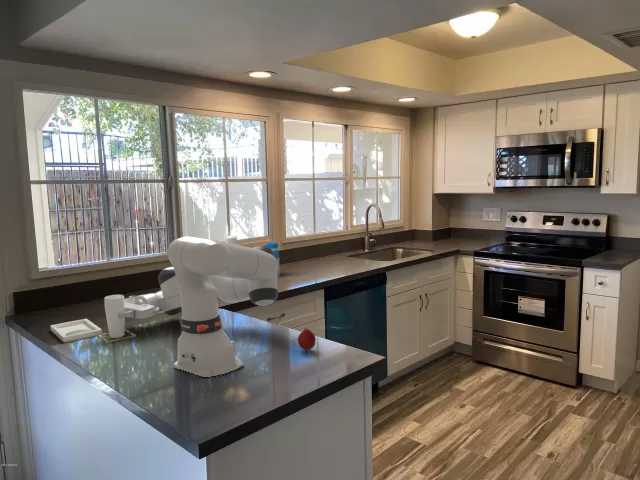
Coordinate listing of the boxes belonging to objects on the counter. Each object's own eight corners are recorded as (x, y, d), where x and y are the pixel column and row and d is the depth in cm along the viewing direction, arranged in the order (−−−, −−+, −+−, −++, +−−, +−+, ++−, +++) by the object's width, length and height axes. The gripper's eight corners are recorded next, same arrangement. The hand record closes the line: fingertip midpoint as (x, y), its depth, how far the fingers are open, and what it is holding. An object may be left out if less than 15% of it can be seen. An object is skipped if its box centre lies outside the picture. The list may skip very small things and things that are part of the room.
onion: (306, 346, 160) (305, 323, 159) (319, 350, 157) (318, 327, 156) (294, 351, 156) (294, 328, 155) (307, 355, 152) (307, 331, 151)
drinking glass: (105, 340, 171) (102, 299, 169) (108, 334, 178) (105, 295, 176) (125, 338, 173) (122, 298, 171) (128, 332, 179) (125, 293, 178)
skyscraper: (222, 281, 269) (220, 233, 266) (236, 280, 273) (234, 232, 269) (226, 284, 262) (224, 234, 258) (240, 283, 265) (238, 233, 262)
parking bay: (136, 336, 175) (135, 335, 175) (107, 342, 168) (107, 341, 168) (126, 330, 182) (126, 329, 182) (98, 336, 176) (98, 335, 176)
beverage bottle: (277, 277, 278) (276, 244, 276) (264, 277, 280) (262, 243, 277) (281, 274, 286) (280, 242, 284) (268, 274, 288) (267, 242, 286)
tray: (102, 334, 177) (101, 329, 177) (63, 342, 169) (63, 337, 169) (86, 323, 192) (86, 318, 192) (50, 330, 184) (50, 325, 184)
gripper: (163, 317, 179) (131, 327, 168) (130, 310, 191) (98, 318, 179) (162, 301, 179) (129, 309, 167) (129, 295, 190) (97, 302, 179)
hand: (113, 314), depth 174 cm, fingers closed on drinking glass, 6 cm apart
